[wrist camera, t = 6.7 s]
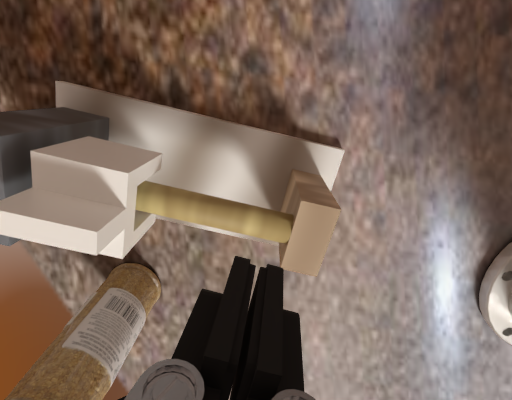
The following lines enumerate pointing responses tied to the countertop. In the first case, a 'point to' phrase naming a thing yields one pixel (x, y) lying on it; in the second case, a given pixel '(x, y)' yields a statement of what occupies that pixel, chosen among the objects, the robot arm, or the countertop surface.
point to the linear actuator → (194, 169)
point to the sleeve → (83, 197)
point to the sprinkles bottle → (94, 340)
